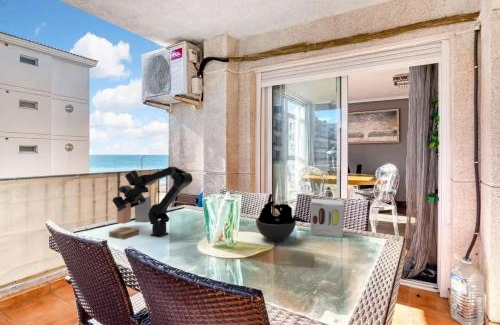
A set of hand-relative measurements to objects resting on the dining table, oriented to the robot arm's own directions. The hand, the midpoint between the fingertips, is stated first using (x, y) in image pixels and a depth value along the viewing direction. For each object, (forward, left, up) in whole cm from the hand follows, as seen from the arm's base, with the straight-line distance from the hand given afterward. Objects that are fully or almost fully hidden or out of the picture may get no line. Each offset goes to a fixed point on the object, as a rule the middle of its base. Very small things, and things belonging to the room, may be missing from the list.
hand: (122, 209), depth 159 cm
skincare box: (+3, -19, -11) cm, 22 cm away
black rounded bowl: (-85, -17, -11) cm, 88 cm away
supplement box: (-107, -42, -11) cm, 116 cm away
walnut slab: (-12, +10, -11) cm, 19 cm away
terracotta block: (-1, 0, -7) cm, 7 cm away
